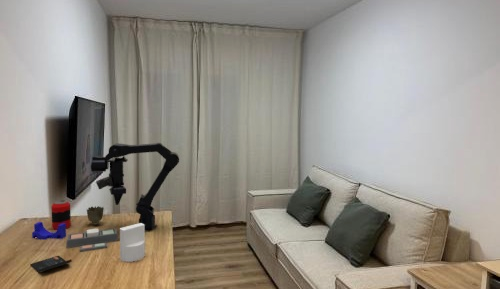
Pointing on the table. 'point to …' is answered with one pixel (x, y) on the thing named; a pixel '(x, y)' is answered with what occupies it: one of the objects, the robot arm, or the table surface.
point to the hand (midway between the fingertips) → (116, 204)
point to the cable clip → (44, 234)
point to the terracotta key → (76, 236)
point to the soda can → (61, 214)
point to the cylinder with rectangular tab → (132, 242)
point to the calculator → (49, 263)
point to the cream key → (92, 232)
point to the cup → (95, 214)
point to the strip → (93, 247)
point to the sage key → (107, 232)
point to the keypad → (91, 239)
